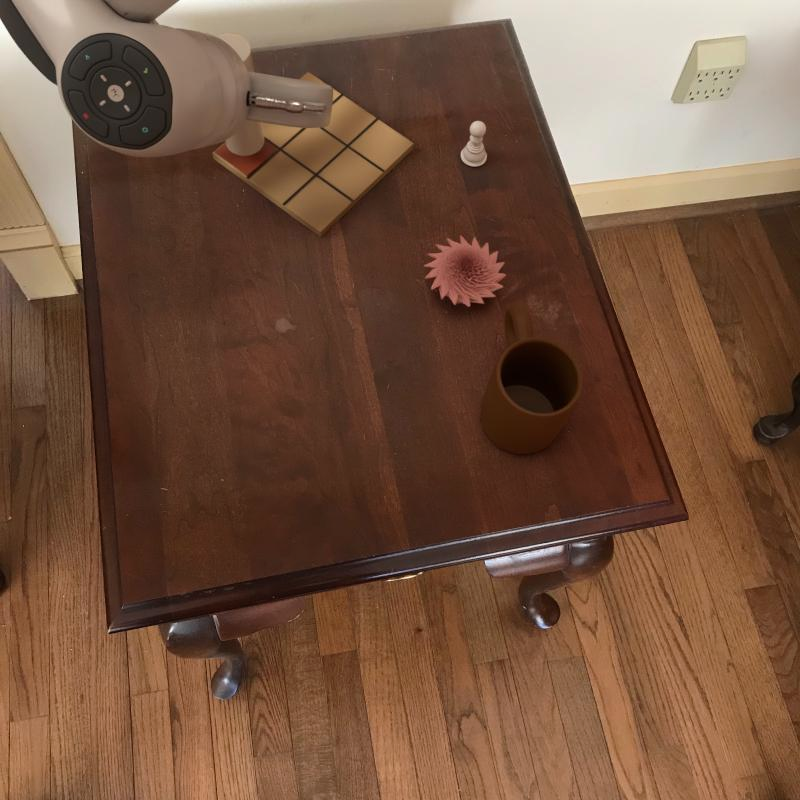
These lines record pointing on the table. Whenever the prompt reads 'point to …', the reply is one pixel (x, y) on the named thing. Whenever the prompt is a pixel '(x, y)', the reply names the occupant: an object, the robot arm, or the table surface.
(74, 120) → the robot arm
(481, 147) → the chess pawn
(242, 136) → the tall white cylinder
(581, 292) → the table surface
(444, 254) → the flower
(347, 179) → the board
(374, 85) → the table surface
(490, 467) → the table surface
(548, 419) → the mug
